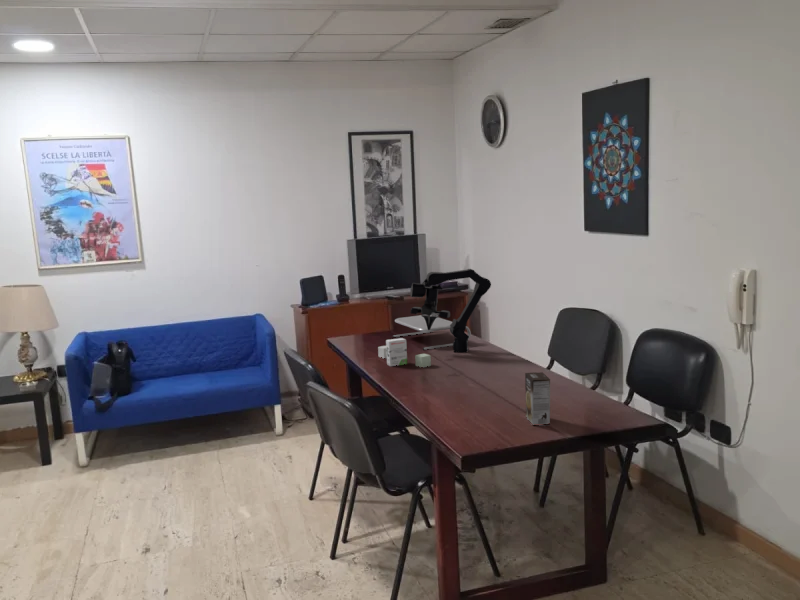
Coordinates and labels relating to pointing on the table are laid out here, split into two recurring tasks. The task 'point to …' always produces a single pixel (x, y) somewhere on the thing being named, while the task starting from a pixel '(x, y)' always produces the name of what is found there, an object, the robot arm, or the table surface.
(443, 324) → the monitor stand
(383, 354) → the grey block
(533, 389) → the coffee box
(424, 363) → the sage block
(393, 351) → the ink box
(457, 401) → the table surface
